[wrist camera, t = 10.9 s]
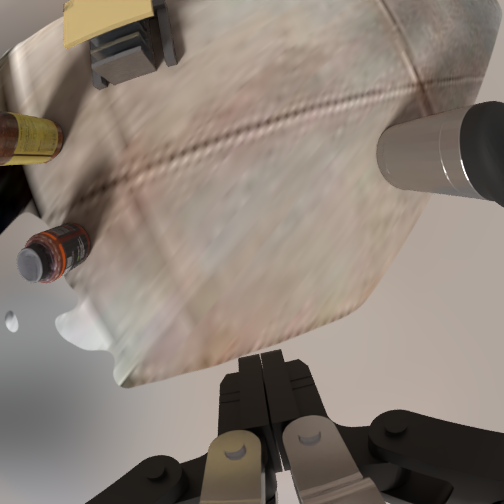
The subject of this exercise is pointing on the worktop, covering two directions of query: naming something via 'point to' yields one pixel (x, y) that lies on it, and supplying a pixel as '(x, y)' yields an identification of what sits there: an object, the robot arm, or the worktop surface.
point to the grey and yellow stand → (113, 24)
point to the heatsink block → (124, 52)
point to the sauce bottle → (28, 139)
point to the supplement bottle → (53, 253)
